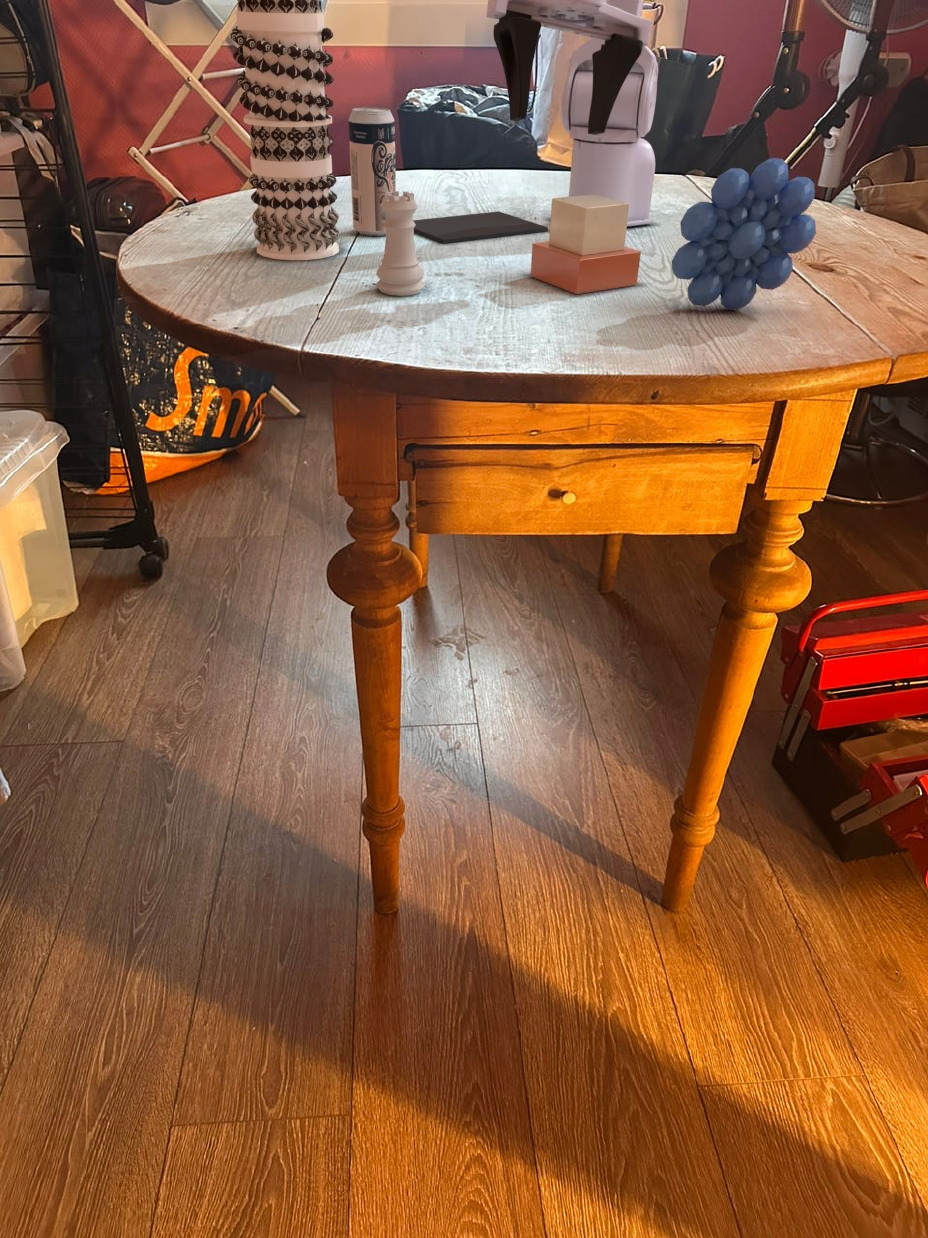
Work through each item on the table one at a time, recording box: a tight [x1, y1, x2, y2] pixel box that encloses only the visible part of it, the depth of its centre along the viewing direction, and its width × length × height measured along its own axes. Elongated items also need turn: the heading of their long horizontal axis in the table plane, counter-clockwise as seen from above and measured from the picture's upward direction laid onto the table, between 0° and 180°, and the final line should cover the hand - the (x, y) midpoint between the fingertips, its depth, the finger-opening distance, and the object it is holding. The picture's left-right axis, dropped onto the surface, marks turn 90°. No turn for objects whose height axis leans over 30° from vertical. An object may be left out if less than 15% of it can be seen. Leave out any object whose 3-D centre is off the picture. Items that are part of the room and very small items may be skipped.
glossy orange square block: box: [529, 240, 642, 295], centre depth 86 cm, size 7×7×3 cm
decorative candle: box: [229, 0, 340, 261], centre depth 87 cm, size 9×9×25 cm
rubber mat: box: [413, 211, 549, 244], centre depth 105 cm, size 14×10×1 cm
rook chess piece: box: [375, 190, 426, 297], centre depth 81 cm, size 4×4×8 cm
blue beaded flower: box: [671, 157, 817, 311], centre depth 78 cm, size 12×7×12 cm, turn 91°
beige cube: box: [548, 194, 629, 256], centre depth 84 cm, size 5×5×4 cm
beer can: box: [348, 107, 397, 237], centre depth 99 cm, size 5×5×12 cm
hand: (557, 126), depth 81 cm, fingers open, 7 cm apart
